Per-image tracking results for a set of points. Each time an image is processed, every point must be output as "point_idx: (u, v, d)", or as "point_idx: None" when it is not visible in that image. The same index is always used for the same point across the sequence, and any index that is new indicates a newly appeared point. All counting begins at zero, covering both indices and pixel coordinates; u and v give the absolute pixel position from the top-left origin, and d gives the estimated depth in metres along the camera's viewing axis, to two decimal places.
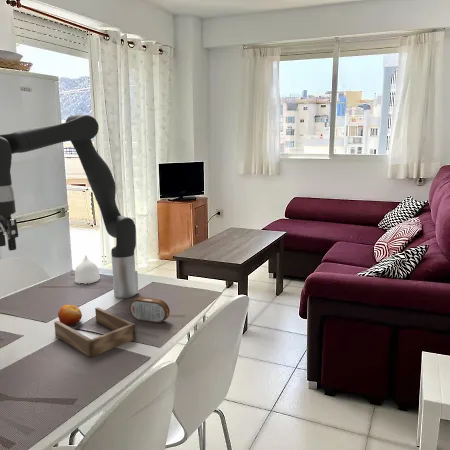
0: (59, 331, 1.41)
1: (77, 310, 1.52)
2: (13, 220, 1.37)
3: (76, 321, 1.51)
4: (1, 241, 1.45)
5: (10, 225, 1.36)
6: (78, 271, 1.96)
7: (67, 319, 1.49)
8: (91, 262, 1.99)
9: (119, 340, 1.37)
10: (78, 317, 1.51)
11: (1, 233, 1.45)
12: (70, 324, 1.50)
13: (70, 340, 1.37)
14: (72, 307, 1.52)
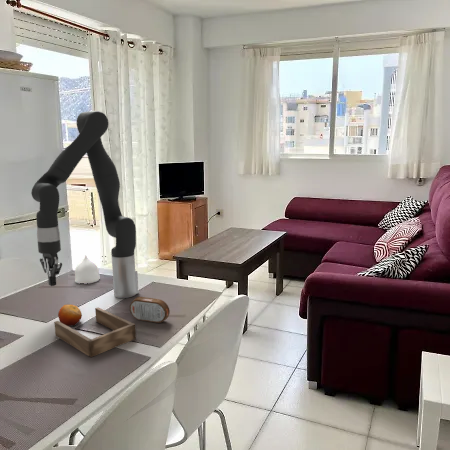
0: (59, 331, 1.41)
1: (77, 310, 1.52)
2: (60, 264, 1.53)
3: (76, 321, 1.51)
4: None
5: (55, 268, 1.53)
6: (78, 271, 1.96)
7: (67, 319, 1.49)
8: (91, 262, 1.99)
9: (119, 340, 1.37)
10: (78, 317, 1.51)
11: None
12: (70, 324, 1.50)
13: (70, 340, 1.37)
14: (72, 307, 1.52)
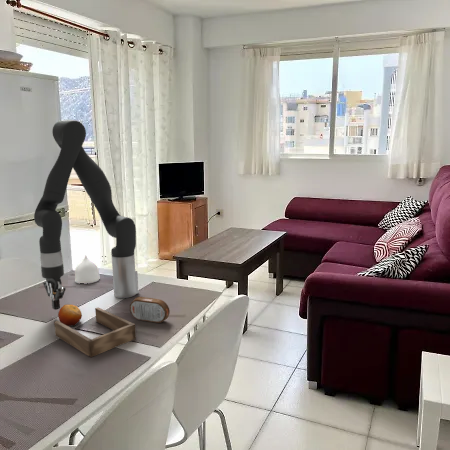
0: (59, 331, 1.41)
1: (77, 310, 1.52)
2: (63, 289, 1.54)
3: (76, 321, 1.51)
4: None
5: (59, 293, 1.54)
6: (78, 271, 1.96)
7: (67, 319, 1.49)
8: (91, 262, 1.99)
9: (119, 340, 1.37)
10: (78, 317, 1.51)
11: None
12: (70, 324, 1.50)
13: (70, 340, 1.37)
14: (72, 307, 1.52)
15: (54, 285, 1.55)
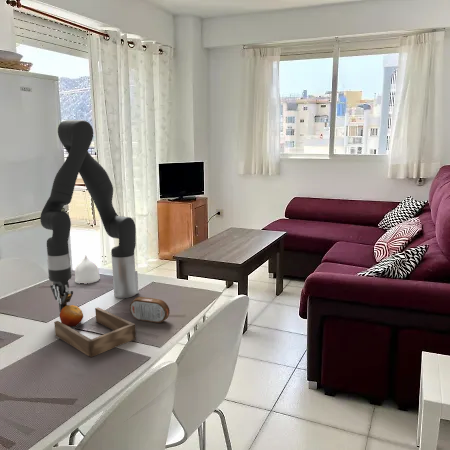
0: (59, 331, 1.41)
1: (78, 311, 1.51)
2: (71, 292, 1.50)
3: (77, 322, 1.50)
4: None
5: (66, 297, 1.50)
6: (78, 271, 1.96)
7: (69, 320, 1.48)
8: (91, 262, 1.99)
9: (119, 340, 1.37)
10: (79, 318, 1.50)
11: None
12: (71, 325, 1.50)
13: (70, 340, 1.37)
14: (73, 308, 1.51)
15: (61, 288, 1.51)
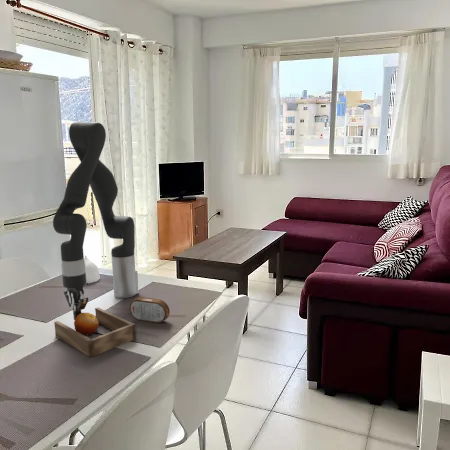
0: (59, 331, 1.41)
1: (94, 319, 1.44)
2: (86, 299, 1.43)
3: (93, 330, 1.43)
4: (77, 315, 1.48)
5: (81, 304, 1.43)
6: None
7: (84, 328, 1.41)
8: (91, 262, 1.99)
9: (119, 340, 1.37)
10: (95, 326, 1.43)
11: None
12: (87, 333, 1.43)
13: (70, 340, 1.37)
14: (89, 315, 1.44)
15: (76, 295, 1.44)
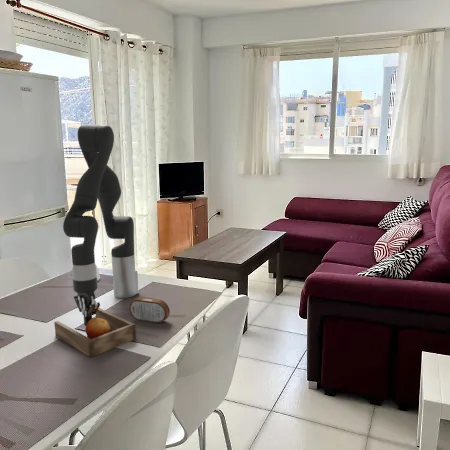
0: (59, 331, 1.41)
1: (106, 324, 1.40)
2: (97, 304, 1.39)
3: None
4: (87, 321, 1.44)
5: (93, 309, 1.39)
6: None
7: (96, 334, 1.37)
8: None
9: (119, 340, 1.37)
10: (107, 332, 1.39)
11: None
12: None
13: (70, 340, 1.37)
14: (100, 321, 1.40)
15: (87, 300, 1.40)
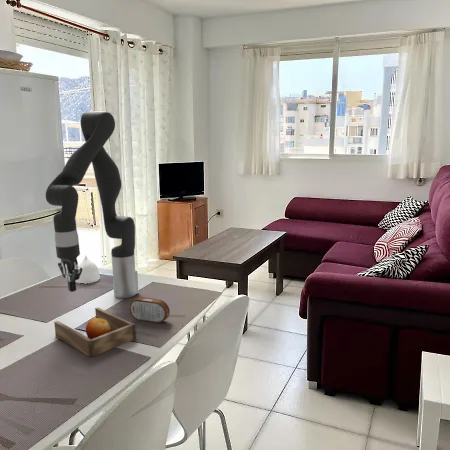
0: (59, 331, 1.41)
1: (106, 324, 1.40)
2: (80, 270, 1.46)
3: None
4: None
5: (76, 274, 1.46)
6: None
7: (96, 334, 1.37)
8: (91, 262, 1.99)
9: (119, 340, 1.37)
10: (107, 332, 1.39)
11: None
12: None
13: (70, 340, 1.37)
14: (101, 321, 1.40)
15: (70, 266, 1.47)
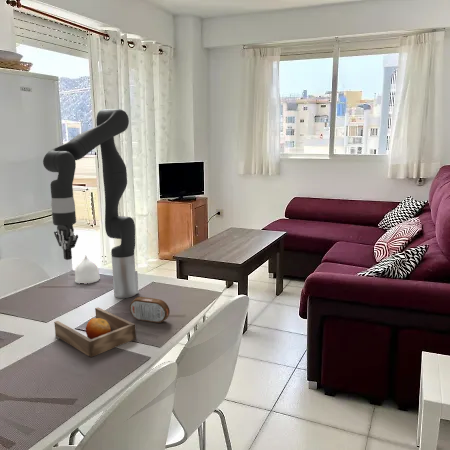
0: (59, 331, 1.41)
1: (106, 324, 1.40)
2: (76, 236, 1.46)
3: None
4: None
5: (71, 241, 1.46)
6: (78, 271, 1.96)
7: (96, 334, 1.37)
8: (91, 262, 1.99)
9: (119, 340, 1.37)
10: (107, 332, 1.39)
11: None
12: None
13: (70, 340, 1.37)
14: (101, 321, 1.40)
15: (66, 233, 1.47)
